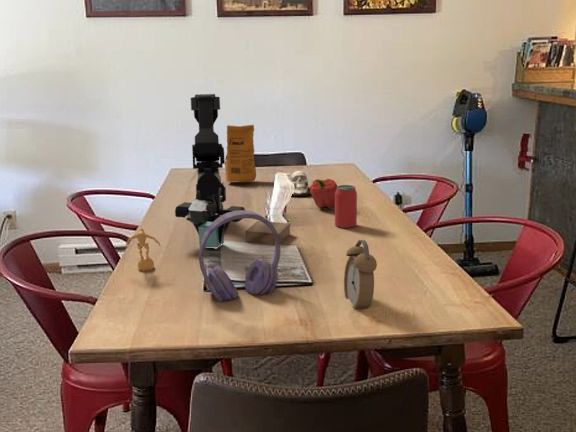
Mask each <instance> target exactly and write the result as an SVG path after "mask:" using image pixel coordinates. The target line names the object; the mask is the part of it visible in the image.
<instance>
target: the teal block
mask: <svg viewBox="0 0 576 432" xmlns="http://www.w3.org/2000/svg"><path fill="white" fill-rule="evenodd" d="M212 223H213V222H205V223H204V224H202V225H200V226H199V235H198V241H199V242H198V243H199V246H200V245H201V240H202V238H203V236H204V233H205V232H206V230H207V229H208V227H209V226H210V225H211V224H212ZM223 243H224V244H225V237H224V238H223V241H222V243H219V227H218V228H217V229H216V230H215V231H213V233H212V234H211V235H210V236H209V238H208V240H207V242H206V244H205V248H204V249H206V247H218V246H219V245H221V244H223ZM224 244H223V245H224Z"/></svg>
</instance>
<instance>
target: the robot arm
mask: <svg viewBox="0 0 576 432" xmlns="http://www.w3.org/2000/svg"><path fill="white" fill-rule="evenodd" d="M190 110H191V111H193V117H194V119H195V120H196V122H197V123H198V132H196V133H197V134H195V136H194V144H192V145H191V147H192V149H191V151H192V169H193V170H194V169H196V172H197V181H196V184H195V192H196V193H195V200H194V201H192V202H187V201H185V202H182V203H181V204H179V205H177V206H176V207H175V208H174V216H175V217H176V218H185V220H186V221H188V222H190V223H191V224H192V225H193V226H194V228H195V231H196V232H197V235H198V236H199V226H200V225H202V224H204V223H205V222H214V221H215V220H216V219H217V218H219V217H220V216H222V215H224V214H226V213H228V212H232V211H238V210H246V209H245V207H244V206H239V205H237V206H235V205H231V206H229V207H228V208H227V209H226V208H225V209H224V205H223V204H224V203H225V201H227V192H226V191H227V189H226V186H225V185H224V183H223V182H222V180H221V175H220V169H221V168H223V166H224V165H225V159H226V158H225V148H224V146H223V144H222V143H219V141H220V139H219V135H218V134H217V133H216V132H215V129H214V124H215V122H216V121H217V119H218V118H219V117H218V116H219V111H220V110H221V98H220V96H216V94H215V93H207V94H206V93H204V94H203V93H202V94H194V97H190ZM243 219H244V218H242V219H236V220H232V221H229V222H226V223H224V224H222V225H221V226H219V243H222V241H223V238H224V239H225V235H226V233H227V230H228V228H229V226H230V224H231V223H239V222H240V221H242V220H243Z"/></svg>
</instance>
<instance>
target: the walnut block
mask: <svg viewBox="0 0 576 432" xmlns="http://www.w3.org/2000/svg"><path fill="white" fill-rule="evenodd" d="M269 222H270V223H271V224H272V225H273V226H274V228H275V229H276V231H277V234H278V237H279V242H280V245H281V244H283V242H284V241H285V240H287V238H288V237H289V236H291V224H290V222H279V221H278V222H277V221H276V222H275V221H269ZM245 243H255V244H264V245H265V244H267V245H275V243H276V241H275V238H274V235H273V233H272V231H271V230H270V228H269V227H268V226H267V225H266V224H265V223H263V222H261V221H259V220H256V221H255V222H254V223H253V224H252V225H251V226H249V227H248V228H247V229H246V230H245Z"/></svg>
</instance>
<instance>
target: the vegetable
mask: <svg viewBox="0 0 576 432" xmlns="http://www.w3.org/2000/svg"><path fill="white" fill-rule="evenodd" d="M338 186H339V185H338V184H337V183H336V181H335V180H334V179H331V178H327V179H318V178H317V179H314V180H313V181H312V184H311V185H310V186H309V187H310V192H311V193H310V194H311V196H312V199H313V202H314V204H315V205H316V207H318V208H321V209H323V208H325V207H326V208H335V192H336V190H337V187H338Z"/></svg>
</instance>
